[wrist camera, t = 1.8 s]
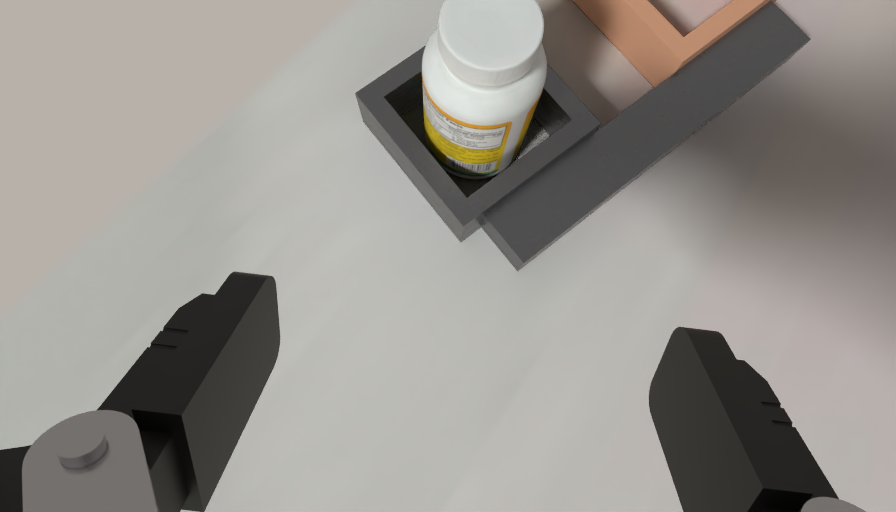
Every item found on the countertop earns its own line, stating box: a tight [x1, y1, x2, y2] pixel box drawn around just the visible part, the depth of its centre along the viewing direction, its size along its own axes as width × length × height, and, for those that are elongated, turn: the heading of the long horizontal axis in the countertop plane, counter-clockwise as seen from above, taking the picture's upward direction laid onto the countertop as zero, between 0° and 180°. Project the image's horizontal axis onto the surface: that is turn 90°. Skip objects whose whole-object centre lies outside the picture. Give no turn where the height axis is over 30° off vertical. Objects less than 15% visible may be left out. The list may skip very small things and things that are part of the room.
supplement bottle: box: [422, 0, 547, 179], centre depth 25 cm, size 5×5×10 cm
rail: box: [355, 1, 811, 271], centre depth 29 cm, size 21×12×3 cm, turn 128°
